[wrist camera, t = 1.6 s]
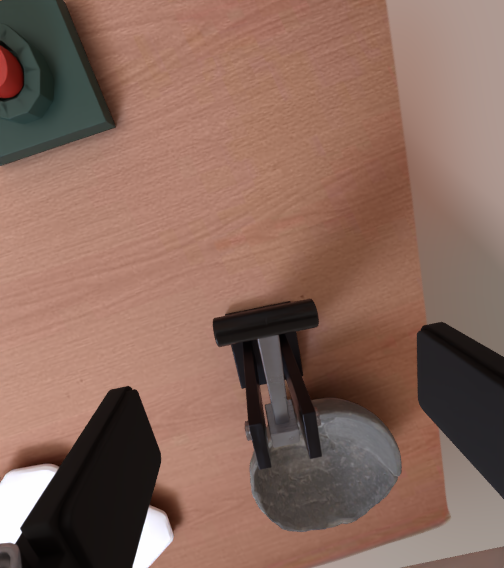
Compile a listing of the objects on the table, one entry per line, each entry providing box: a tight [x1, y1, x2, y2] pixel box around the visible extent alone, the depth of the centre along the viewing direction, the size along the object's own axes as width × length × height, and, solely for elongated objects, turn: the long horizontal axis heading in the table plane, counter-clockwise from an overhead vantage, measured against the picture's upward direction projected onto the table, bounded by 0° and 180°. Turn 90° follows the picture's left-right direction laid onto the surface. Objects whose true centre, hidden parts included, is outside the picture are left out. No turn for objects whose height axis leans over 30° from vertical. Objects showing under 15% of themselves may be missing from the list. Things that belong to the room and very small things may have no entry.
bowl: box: [250, 398, 402, 532], centre depth 36 cm, size 18×18×8 cm
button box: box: [0, 0, 116, 166], centre depth 24 cm, size 12×10×4 cm
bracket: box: [225, 301, 322, 470], centre depth 28 cm, size 10×8×15 cm
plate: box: [0, 464, 174, 568], centre depth 41 cm, size 25×25×2 cm
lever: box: [213, 299, 319, 448], centre depth 18 cm, size 15×5×2 cm, turn 11°
